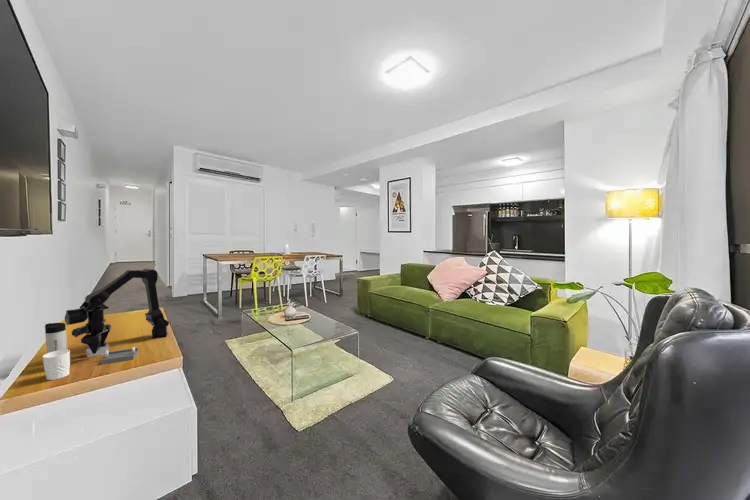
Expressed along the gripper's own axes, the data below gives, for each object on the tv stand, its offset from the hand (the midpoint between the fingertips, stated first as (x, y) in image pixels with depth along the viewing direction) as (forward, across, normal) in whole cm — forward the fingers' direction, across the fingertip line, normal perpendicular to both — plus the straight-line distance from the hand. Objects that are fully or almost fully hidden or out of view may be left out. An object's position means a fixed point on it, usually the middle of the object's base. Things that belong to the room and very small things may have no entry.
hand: (98, 349), depth 146 cm
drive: (+2, 0, 0) cm, 2 cm away
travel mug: (+2, +10, -11) cm, 15 cm away
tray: (+2, +10, +11) cm, 15 cm away
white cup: (+2, +20, -7) cm, 22 cm away
